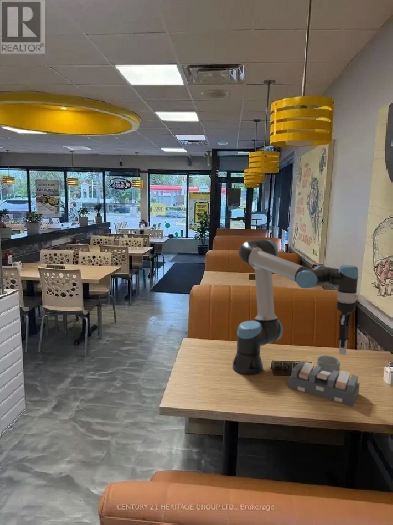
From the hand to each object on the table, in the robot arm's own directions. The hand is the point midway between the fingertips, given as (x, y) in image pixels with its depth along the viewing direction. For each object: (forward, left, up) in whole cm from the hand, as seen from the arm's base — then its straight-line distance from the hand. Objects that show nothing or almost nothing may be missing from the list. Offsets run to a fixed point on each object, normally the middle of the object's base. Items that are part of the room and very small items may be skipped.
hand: (342, 353), depth 167 cm
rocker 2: (-7, -1, -11) cm, 13 cm away
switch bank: (-7, -1, -19) cm, 20 cm away
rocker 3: (+1, -1, -11) cm, 11 cm away
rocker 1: (-15, -1, -11) cm, 19 cm away
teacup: (-10, +19, -19) cm, 28 cm away
